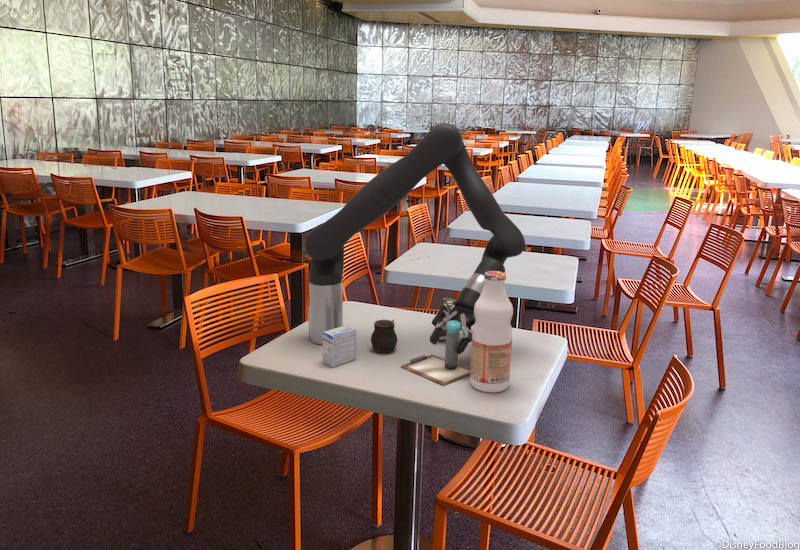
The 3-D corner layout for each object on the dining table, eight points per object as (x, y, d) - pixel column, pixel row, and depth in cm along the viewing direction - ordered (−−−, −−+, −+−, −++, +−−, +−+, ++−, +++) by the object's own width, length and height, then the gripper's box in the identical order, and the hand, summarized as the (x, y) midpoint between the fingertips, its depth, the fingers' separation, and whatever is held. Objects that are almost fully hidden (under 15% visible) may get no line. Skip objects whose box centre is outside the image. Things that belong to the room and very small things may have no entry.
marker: (441, 366, 163) (443, 323, 157) (449, 361, 165) (452, 318, 160) (452, 371, 161) (454, 328, 155) (460, 366, 163) (463, 323, 158)
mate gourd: (382, 343, 180) (383, 309, 177) (403, 350, 175) (404, 315, 173) (365, 350, 175) (365, 315, 172) (386, 357, 170) (387, 322, 167)
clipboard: (400, 367, 164) (400, 362, 164) (432, 355, 171) (432, 351, 171) (443, 386, 153) (443, 381, 153) (474, 373, 161) (474, 368, 161)
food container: (458, 345, 179) (459, 311, 176) (436, 343, 180) (437, 309, 178) (462, 330, 191) (464, 298, 188) (442, 328, 192) (443, 297, 189)
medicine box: (346, 355, 171) (345, 324, 169) (356, 359, 168) (356, 328, 166) (322, 363, 166) (321, 331, 164) (333, 368, 163) (332, 336, 161)
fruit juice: (463, 387, 153) (467, 274, 145) (480, 373, 161) (485, 266, 153) (499, 397, 148) (505, 281, 141) (515, 382, 156) (522, 272, 148)
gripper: (449, 281, 166) (416, 332, 162) (491, 293, 156) (458, 348, 152) (461, 296, 171) (431, 347, 167) (504, 309, 161) (472, 363, 157)
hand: (444, 347), depth 159 cm, fingers open, 8 cm apart
